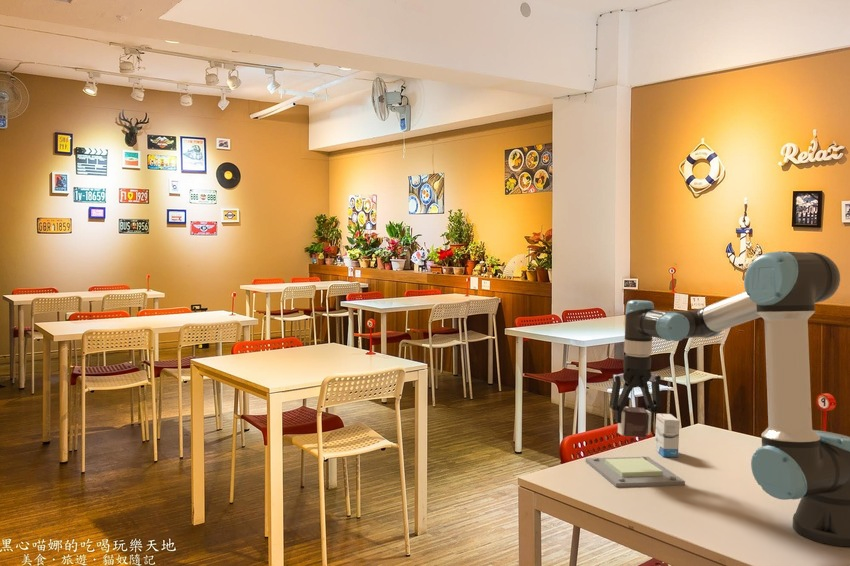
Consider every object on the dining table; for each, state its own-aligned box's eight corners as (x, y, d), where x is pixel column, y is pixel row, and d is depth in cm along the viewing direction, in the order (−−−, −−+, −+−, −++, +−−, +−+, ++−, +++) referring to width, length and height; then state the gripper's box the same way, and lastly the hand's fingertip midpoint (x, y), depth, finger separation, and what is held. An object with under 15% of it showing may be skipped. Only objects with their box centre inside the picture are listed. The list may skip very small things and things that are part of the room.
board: (684, 484, 194) (685, 476, 194) (615, 486, 191) (616, 479, 191) (648, 459, 215) (648, 452, 215) (585, 461, 212) (585, 454, 212)
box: (646, 438, 199) (647, 412, 199) (623, 436, 200) (625, 411, 200) (643, 432, 205) (644, 407, 205) (621, 430, 206) (623, 406, 206)
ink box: (678, 457, 218) (680, 420, 218) (662, 457, 218) (664, 419, 218) (669, 449, 227) (671, 413, 226) (654, 449, 227) (655, 413, 226)
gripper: (664, 352, 206) (660, 429, 208) (598, 352, 203) (595, 430, 205) (677, 356, 199) (673, 436, 200) (609, 356, 196) (605, 438, 197)
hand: (633, 433), depth 203 cm, fingers closed on box, 7 cm apart
